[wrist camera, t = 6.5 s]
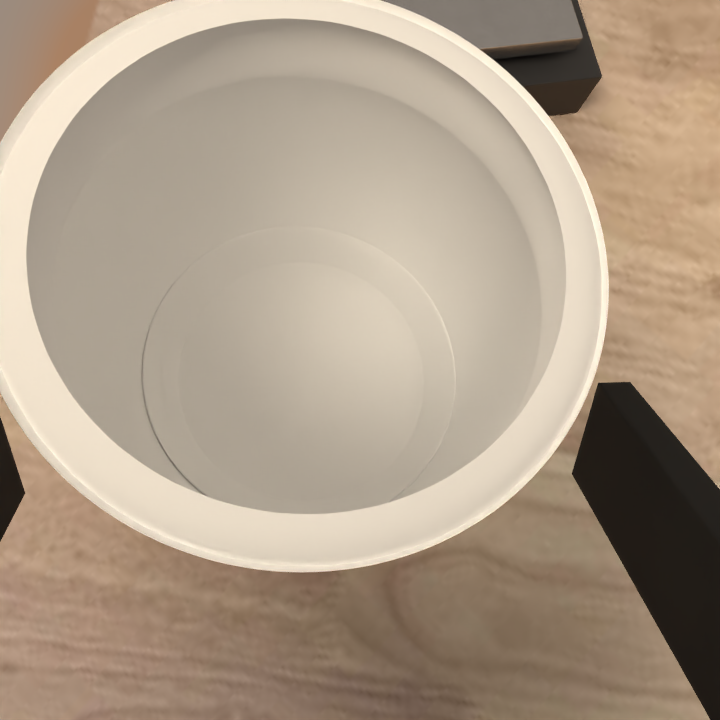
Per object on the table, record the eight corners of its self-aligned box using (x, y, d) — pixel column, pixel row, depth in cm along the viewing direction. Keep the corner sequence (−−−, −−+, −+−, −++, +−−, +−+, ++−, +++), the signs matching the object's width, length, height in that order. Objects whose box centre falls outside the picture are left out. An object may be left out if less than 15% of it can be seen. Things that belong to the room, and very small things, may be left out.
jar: (111, 448, 24) (-191, 354, 9) (251, 231, 26) (194, -117, 12) (357, 585, 23) (457, 718, 9) (474, 352, 26) (703, 153, 11)
